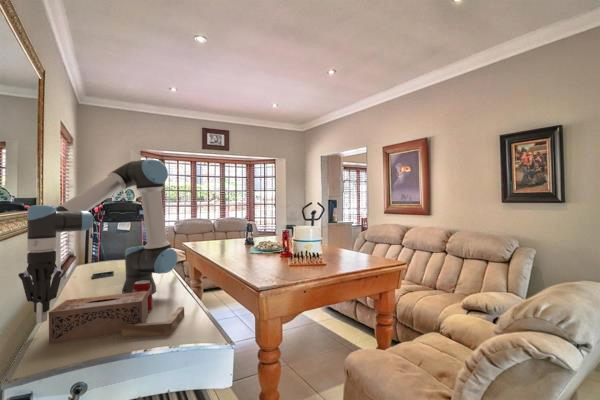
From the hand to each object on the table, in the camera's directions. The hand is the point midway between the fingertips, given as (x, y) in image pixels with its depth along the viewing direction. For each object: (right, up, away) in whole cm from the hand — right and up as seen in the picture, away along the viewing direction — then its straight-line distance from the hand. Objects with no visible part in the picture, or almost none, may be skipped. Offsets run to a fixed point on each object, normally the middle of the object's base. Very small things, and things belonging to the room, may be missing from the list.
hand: (41, 321), depth 103 cm
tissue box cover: (+19, -4, +3) cm, 20 cm away
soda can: (+24, -4, +19) cm, 31 cm away
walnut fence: (+37, -3, +3) cm, 37 cm away
